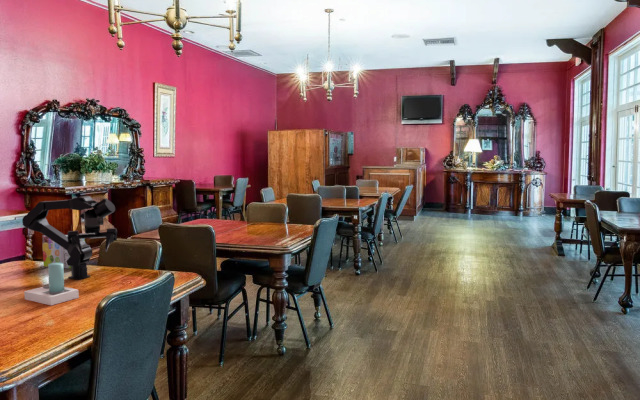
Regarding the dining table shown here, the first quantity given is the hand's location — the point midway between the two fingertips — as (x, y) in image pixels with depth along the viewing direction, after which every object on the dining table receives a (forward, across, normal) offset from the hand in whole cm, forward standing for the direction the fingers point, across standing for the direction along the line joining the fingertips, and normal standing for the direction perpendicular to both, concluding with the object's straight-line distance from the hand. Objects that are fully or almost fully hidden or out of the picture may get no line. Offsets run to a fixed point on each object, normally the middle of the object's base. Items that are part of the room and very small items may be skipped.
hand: (93, 252), depth 208 cm
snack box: (-21, -12, +40) cm, 47 cm away
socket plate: (+19, -15, 0) cm, 24 cm away
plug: (+20, -14, -2) cm, 24 cm away
